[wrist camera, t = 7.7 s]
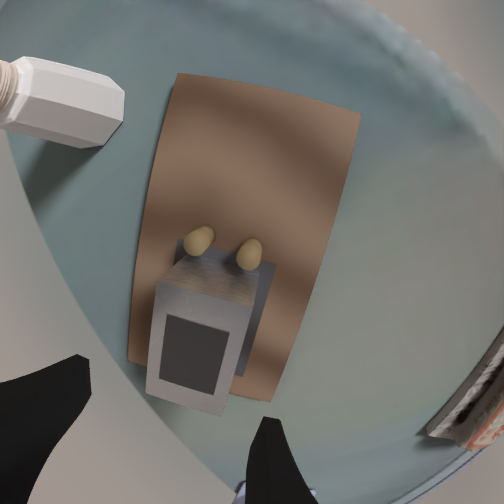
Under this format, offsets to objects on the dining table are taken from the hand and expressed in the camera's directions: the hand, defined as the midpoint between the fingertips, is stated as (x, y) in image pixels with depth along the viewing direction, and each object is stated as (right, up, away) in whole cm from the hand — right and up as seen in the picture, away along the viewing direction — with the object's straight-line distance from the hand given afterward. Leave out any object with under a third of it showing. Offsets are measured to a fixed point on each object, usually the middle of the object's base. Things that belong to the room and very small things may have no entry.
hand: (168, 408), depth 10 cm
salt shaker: (-8, +16, +7) cm, 19 cm away
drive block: (+1, +2, +9) cm, 9 cm away
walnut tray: (+2, +6, +9) cm, 11 cm away
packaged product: (+28, -5, +10) cm, 30 cm away
